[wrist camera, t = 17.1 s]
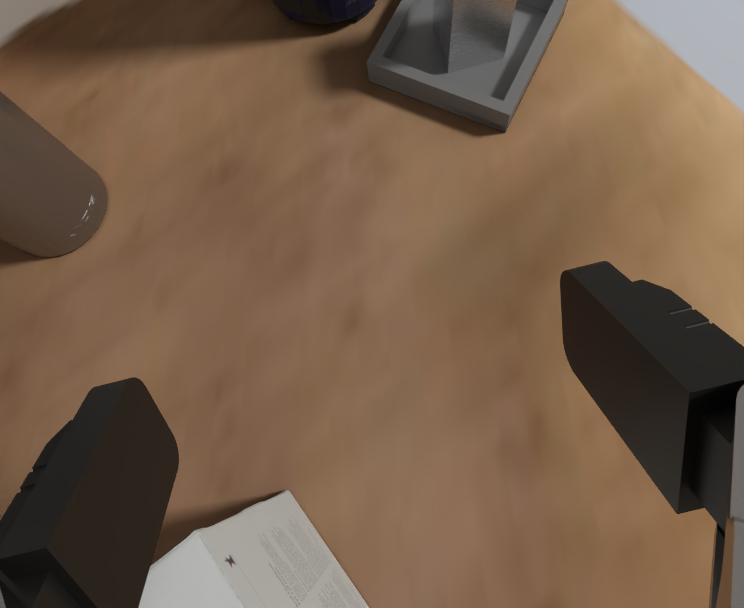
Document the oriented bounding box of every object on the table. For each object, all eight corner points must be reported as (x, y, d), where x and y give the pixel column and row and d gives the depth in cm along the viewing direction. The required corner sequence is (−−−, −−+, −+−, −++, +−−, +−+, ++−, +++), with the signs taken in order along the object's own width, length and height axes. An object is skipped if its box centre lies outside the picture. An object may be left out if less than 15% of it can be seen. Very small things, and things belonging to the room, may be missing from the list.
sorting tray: (369, 81, 47) (366, 61, 45) (430, -29, 50) (431, -53, 47) (505, 132, 45) (510, 115, 42) (563, 14, 47) (570, -8, 45)
